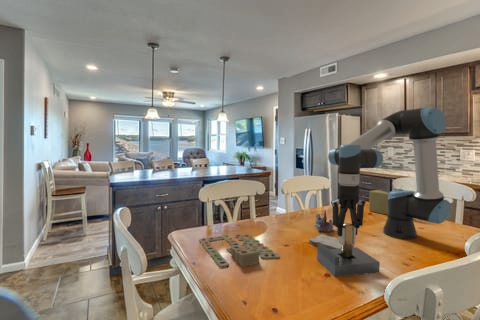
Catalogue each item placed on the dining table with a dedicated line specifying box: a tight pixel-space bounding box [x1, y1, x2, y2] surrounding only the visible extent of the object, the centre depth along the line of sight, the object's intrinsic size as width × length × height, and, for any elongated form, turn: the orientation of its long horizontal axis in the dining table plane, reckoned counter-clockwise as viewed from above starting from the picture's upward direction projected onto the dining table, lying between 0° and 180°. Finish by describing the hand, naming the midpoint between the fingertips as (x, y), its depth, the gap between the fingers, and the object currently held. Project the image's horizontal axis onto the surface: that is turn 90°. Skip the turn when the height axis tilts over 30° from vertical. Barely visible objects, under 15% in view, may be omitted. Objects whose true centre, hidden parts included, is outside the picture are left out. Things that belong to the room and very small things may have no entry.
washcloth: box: [308, 234, 355, 249], centre depth 125 cm, size 12×18×3 cm, turn 43°
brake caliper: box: [314, 209, 334, 233], centre depth 148 cm, size 11×11×12 cm
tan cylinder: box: [341, 222, 354, 257], centre depth 103 cm, size 4×4×12 cm
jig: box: [316, 243, 380, 278], centre depth 104 cm, size 18×14×7 cm
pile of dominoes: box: [198, 233, 281, 268], centre depth 121 cm, size 35×27×6 cm
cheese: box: [368, 189, 390, 216], centre depth 178 cm, size 22×10×15 cm, turn 24°
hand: (347, 243), depth 103 cm, fingers closed on tan cylinder, 4 cm apart
